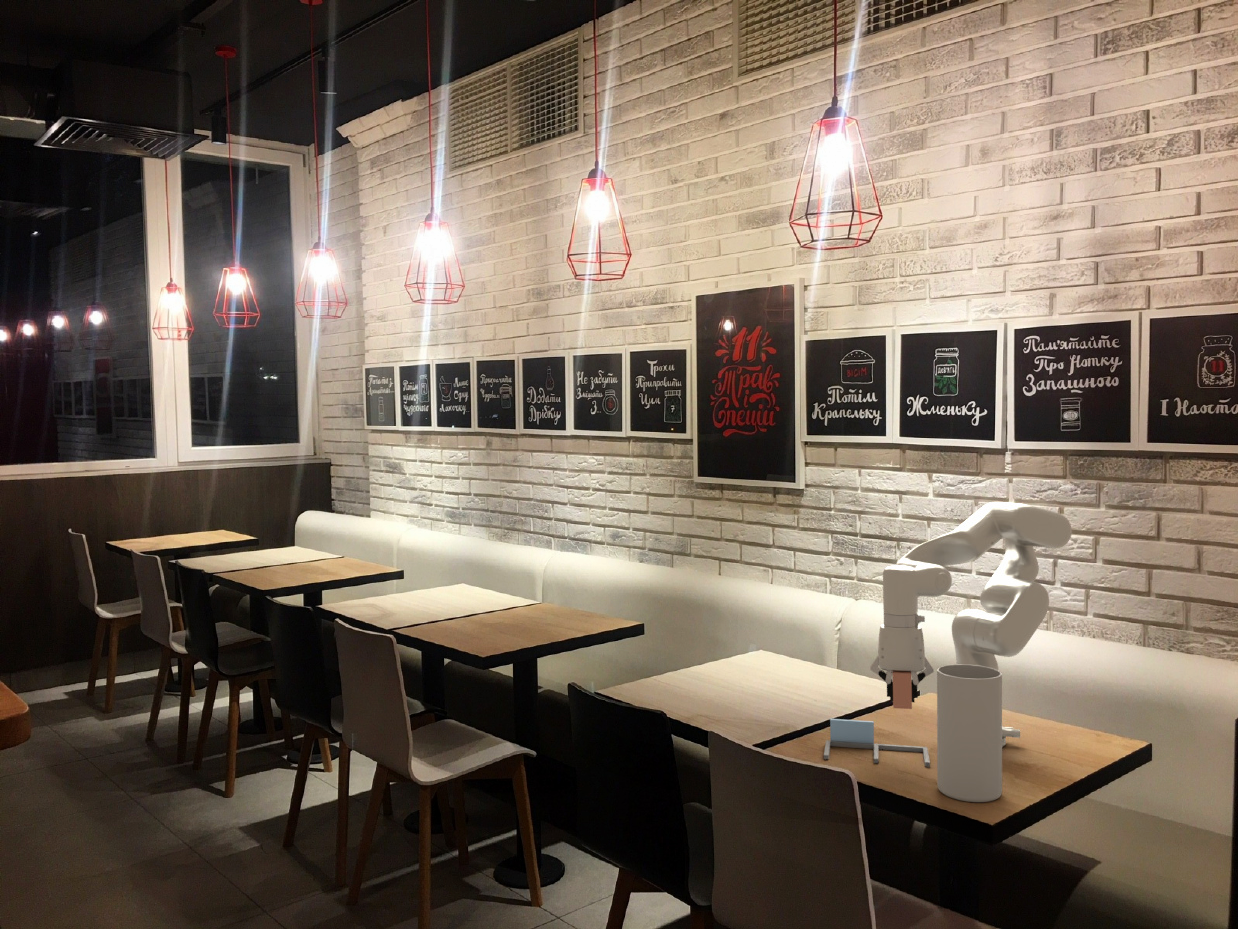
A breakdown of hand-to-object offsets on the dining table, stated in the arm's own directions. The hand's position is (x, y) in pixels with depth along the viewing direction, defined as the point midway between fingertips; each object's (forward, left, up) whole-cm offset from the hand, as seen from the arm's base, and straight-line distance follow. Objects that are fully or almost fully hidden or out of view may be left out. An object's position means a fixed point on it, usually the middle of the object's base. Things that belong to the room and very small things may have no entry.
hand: (902, 699), depth 221 cm
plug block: (0, 0, -1) cm, 1 cm away
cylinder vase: (-13, +19, -13) cm, 27 cm away
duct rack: (+6, 0, -13) cm, 14 cm away
